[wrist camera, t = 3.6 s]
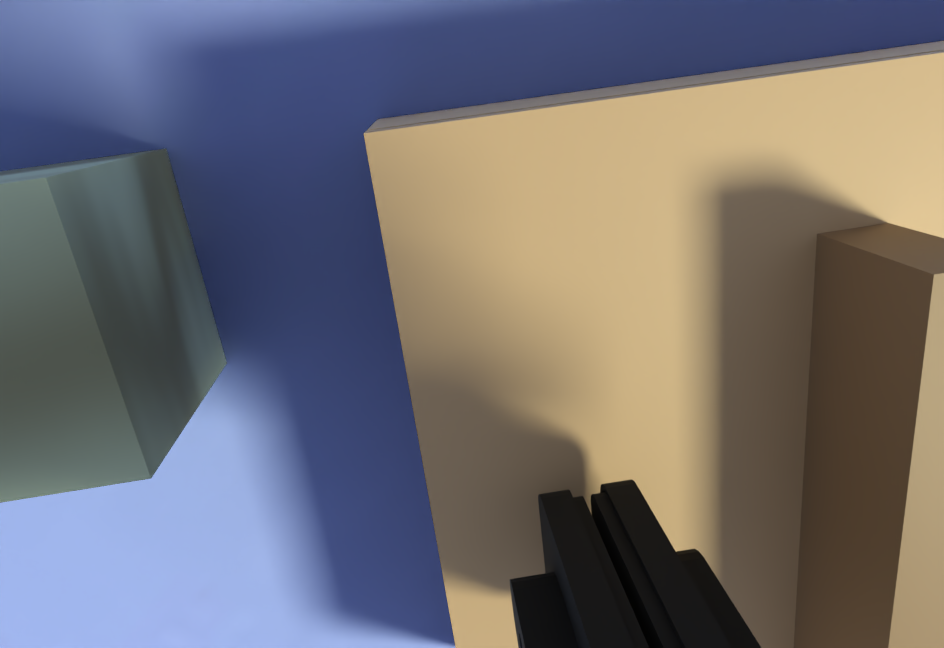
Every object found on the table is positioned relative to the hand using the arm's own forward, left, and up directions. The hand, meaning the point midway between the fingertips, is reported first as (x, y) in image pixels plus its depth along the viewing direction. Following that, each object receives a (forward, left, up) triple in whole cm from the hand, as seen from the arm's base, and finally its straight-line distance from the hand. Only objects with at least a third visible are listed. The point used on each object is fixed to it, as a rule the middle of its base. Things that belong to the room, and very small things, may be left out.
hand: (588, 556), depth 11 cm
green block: (-5, -10, -6) cm, 12 cm away
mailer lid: (0, +5, -1) cm, 5 cm away
